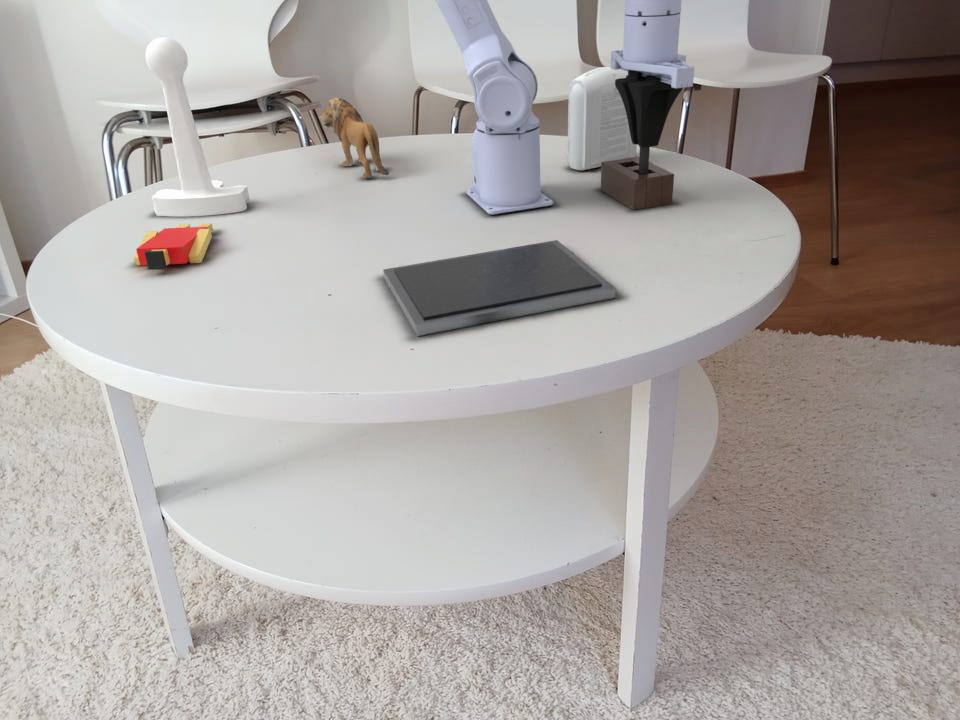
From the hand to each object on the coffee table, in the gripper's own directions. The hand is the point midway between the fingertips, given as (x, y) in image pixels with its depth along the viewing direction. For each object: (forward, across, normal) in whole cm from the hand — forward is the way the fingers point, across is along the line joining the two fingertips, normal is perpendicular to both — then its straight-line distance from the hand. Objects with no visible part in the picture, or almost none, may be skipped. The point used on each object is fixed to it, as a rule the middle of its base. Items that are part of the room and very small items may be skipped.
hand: (645, 144), depth 88 cm
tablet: (+7, -16, +24) cm, 30 cm away
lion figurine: (+7, +31, +28) cm, 42 cm away
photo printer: (+7, +17, -3) cm, 18 cm away
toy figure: (+7, +7, +52) cm, 53 cm away
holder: (+7, +2, 0) cm, 7 cm away
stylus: (+4, 0, 0) cm, 4 cm away
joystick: (+7, +23, +49) cm, 54 cm away
